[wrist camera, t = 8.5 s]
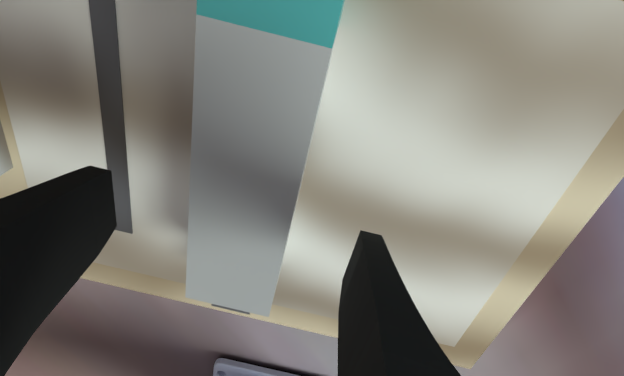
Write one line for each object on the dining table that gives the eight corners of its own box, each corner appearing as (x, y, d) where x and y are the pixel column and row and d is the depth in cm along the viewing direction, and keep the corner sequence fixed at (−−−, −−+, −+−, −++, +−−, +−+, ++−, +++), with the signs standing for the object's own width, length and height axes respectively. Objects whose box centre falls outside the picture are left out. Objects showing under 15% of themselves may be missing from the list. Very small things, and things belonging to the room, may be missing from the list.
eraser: (277, 282, 17) (264, 335, 15) (208, 266, 17) (184, 317, 15) (368, -100, 9) (370, -113, 7) (243, -134, 9) (202, -158, 7)
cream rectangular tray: (466, 354, 20) (475, 388, 18) (13, 248, 20) (-16, 274, 18) (762, -36, 10) (832, -31, 8) (-152, -270, 10) (-247, -308, 8)
